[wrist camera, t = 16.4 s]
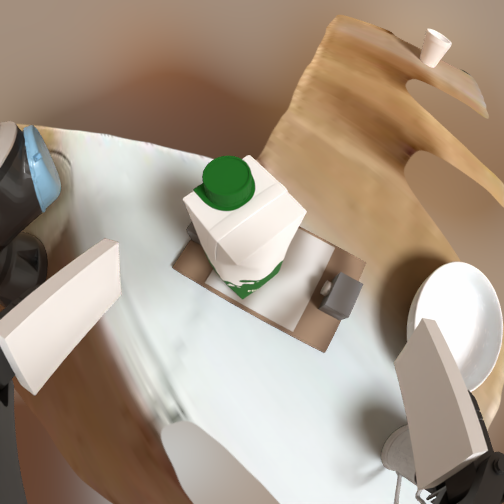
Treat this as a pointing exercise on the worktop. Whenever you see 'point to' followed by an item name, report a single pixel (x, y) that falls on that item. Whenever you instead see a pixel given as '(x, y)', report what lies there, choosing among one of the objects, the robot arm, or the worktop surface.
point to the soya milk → (243, 221)
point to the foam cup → (434, 47)
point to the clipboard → (291, 287)
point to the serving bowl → (462, 317)
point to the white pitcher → (403, 461)
